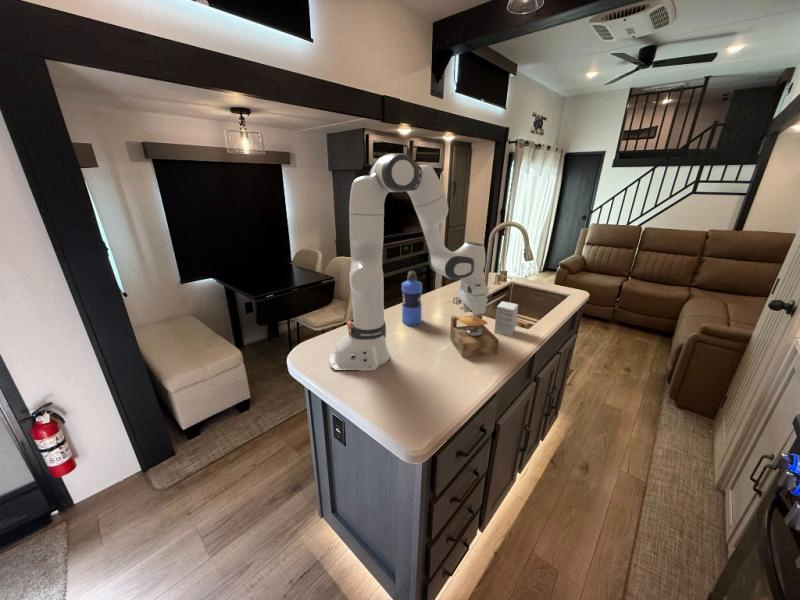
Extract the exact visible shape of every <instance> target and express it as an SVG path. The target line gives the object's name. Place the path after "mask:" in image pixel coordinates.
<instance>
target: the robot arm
mask: <svg viewBox="0 0 800 600" xmlns="http://www.w3.org/2000/svg"><path fill="white" fill-rule="evenodd" d="M350 188H351V189H350V193H349V206H348V207H349V208H348V209H349V211H348V212H349V214H348V215H349V216H348V217H349V220H348V221H349V247H350V249H349V250H350V270H349V275H348V276H349V277H348V278H349V288H350V296H351V302H352V317H353V319H352V320H353V321H351V320H349V321H347V323H346V325H347V326H346V327H347V329H348V330H347V331H348V332H347V333H346V334H345V335H344V336H342V338H339V340H337V342H336V345H335V347H334V350H333V351H331V353H330V355H329V362H330V364H329V366H330V365H331V367H332V368H333V369H340V370H341V369H342V370H344V369H345V370H359V371H358V372H361V371H362V372H372V371H376V370H377V369H378V368H379V367H380V366H382V365H384V364H385V363H387V362H388V361H389V359H390V357H391V355H390V352H389V349H388V346H387V341H386V339H387V338H386V337H387V325H386V320H385V305H384V301H385V300H384V298H385V297H384V295H385V294H384V293H385V292H384V287H385V285H384V283H385V282H384V271H383V253H384V252H383V251H384V232H385V231H384V230H385V229H384V228H385V226H384V225H385V221H384V219H385V202H386V197H387V195H388V194H389V193H405V192H406V193H407V194H408V196H409V198H410V200H411V203H412V205H413V208H414V211H415V213H416V216H417V218H418V220H419V224H420V227H421V231H422V233H423V237H424V240H425V244H426V247H427V250H428V266H429V268H430V269H431V270H432V271H433V272H434V273H437V274H439V275H441V276H443V277H445V278H447V279H449V280H454V281H457V280H460V282H459V283H458V288H457V289H458V290H457V297H458V299H460V300H461V302H462V311H463V312H464V313H469V310H471V311H472V314H471V315H470V316H471V319H472V320H473V321H475V320H477V316H478V314H481V315H484V314H485V312H486V311H487V304H488V296H487V295H488V294H489V292H490V291H489V288H488V286H487V283H486V281H485V280H484V279H485V275H484V269H485V267H486V250H485V249H486V248H485V246H484V245H483V244H482V243H480V242H475V241H465V242H464V243H463V244H462V246H460V247H459V248H458V249H457V250H453V251H452V250H449V249H448V248H447V247H446V246H445V244H444V241H443V237H442V234H441V230H440V224H442V222H443V221H445V219H446V218H447V216H448V215H449V214H448V213H449V204H448V199H447V197H446V192H445V190H444V188H443V185H442V182H441V180H440V179H439V177H438V175H437V172H436V171H435V169H434V167H432V166H431V165H429V164H418V163H417V162H416V161H414V160H413V159H412V158H411V157H410V156H409V155H407V154H405V153H401V152H400V153H398V152H396V153H393V152H392V153H387V154H385V155H382V156H379V157H378V158H377V159H376V160H375V161H374V162H372V165H371V167H370V170H369V171H368V173H367V175H362V176H358V177H356V178H355V179H354V180H353V182H352V184H351V187H350ZM333 353H335V354H333ZM329 362H328V363H329ZM333 364H334V365H333ZM331 367H330V368H331ZM332 368H331V369H332ZM333 369H332V370H333Z"/></svg>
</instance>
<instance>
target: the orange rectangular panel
mask: <svg viewBox="0 0 800 600" xmlns="http://www.w3.org/2000/svg"><path fill="white" fill-rule="evenodd" d="M456 317H457V322H460V323H461V324H463V325H464V326H474V325H484V326H485V325H488V321H486V320H485V319H483V318H482V319H481V318H479V317H477V320H475V321H473V320H472V319H471V315H467V316H456Z"/></svg>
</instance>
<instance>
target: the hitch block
mask: <svg viewBox="0 0 800 600" xmlns="http://www.w3.org/2000/svg"><path fill="white" fill-rule="evenodd" d="M457 317H458V316H456V315H451V316H450V318H451V319H450V330H449V331H450V335H449V337H450V342H451V343H452V345H453V346H454V347H455V349H456V351H457V352H458V353H459V355H460V356H461V358H470V357H471V358H472V357H481V356H490V355H497V354H498V349H499V344H500V343H499V342H500V340H499V338H498V337H496V336H495V335H494V334H493V332H492V331H490V330H489V328H487V327H486V326H485V325H474V326H466V325H462V326H458V325H457V324H458V323H457V322H458V320H457ZM477 317H479V318H481V319H483V314H478V316H477ZM467 327H478V328H481V329H482V336H480V337H470V336H468V335H466V328H467Z"/></svg>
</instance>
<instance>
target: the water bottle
mask: <svg viewBox="0 0 800 600" xmlns="http://www.w3.org/2000/svg"><path fill="white" fill-rule="evenodd" d="M407 274H408V275H407V276H406V277H407V278H406V279H407V280H405V281H403V282H402V283H401V293H402V304H401V308H402V309H401V311H402V312H401V315H402V316H401V320H402V322H403V323H404V324H403V323H402V324H403V325H405V326H408V325H409V327H415V326H416V327H417V326H419V325H421V323H422V311H423V310H422V294H423V293H422V292H423V283H422V282H421V281H418V280H417V279H418V278H417V272H416V271H414V269H413V270H412V269H411V270H409V271H408V272H407Z"/></svg>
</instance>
